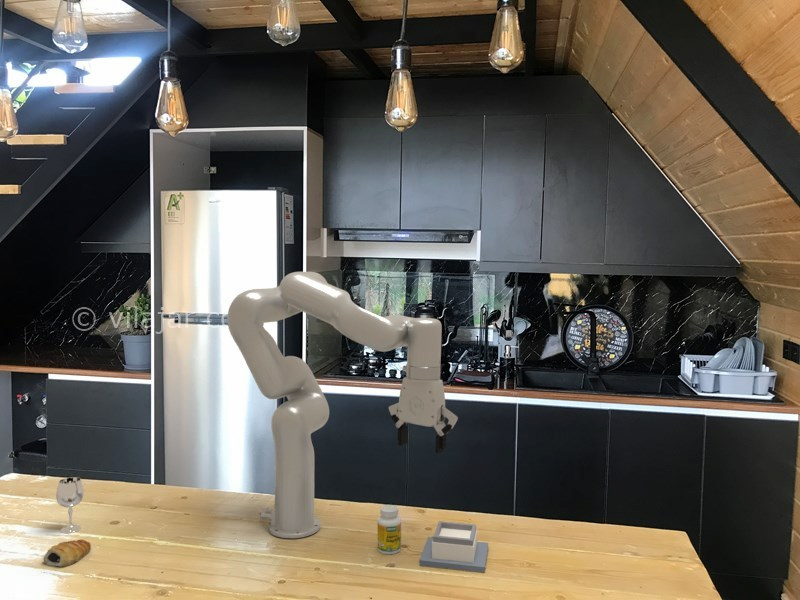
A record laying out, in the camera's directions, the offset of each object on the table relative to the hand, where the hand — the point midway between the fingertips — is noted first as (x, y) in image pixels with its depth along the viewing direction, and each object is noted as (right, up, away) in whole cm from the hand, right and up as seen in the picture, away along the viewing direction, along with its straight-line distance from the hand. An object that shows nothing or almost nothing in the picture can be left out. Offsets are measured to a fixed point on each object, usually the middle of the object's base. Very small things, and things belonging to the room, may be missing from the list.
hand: (421, 447), depth 142 cm
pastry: (-77, -23, -6) cm, 81 cm away
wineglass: (-84, -22, +9) cm, 87 cm away
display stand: (+7, -24, -2) cm, 25 cm away
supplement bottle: (-7, -24, +1) cm, 25 cm away
